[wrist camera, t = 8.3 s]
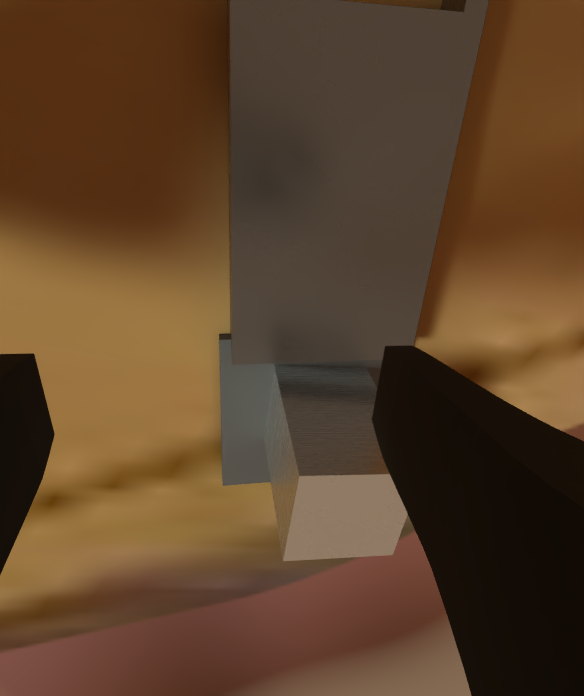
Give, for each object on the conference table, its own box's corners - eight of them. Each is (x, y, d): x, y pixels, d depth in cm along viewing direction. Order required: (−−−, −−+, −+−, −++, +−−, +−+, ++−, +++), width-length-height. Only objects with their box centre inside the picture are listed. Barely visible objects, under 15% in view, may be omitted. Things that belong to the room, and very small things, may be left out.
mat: (222, 478, 26) (222, 485, 25) (219, 334, 21) (219, 339, 21) (379, 467, 27) (382, 473, 27) (408, 329, 23) (412, 334, 22)
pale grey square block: (263, 438, 24) (282, 561, 18) (273, 364, 22) (299, 475, 16) (348, 438, 25) (392, 555, 19) (365, 367, 23) (422, 473, 17)
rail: (230, 343, 21) (232, 364, 20) (220, -706, 9) (223, -858, 8) (396, 339, 23) (410, 358, 21) (578, -587, 11) (641, -697, 9)
